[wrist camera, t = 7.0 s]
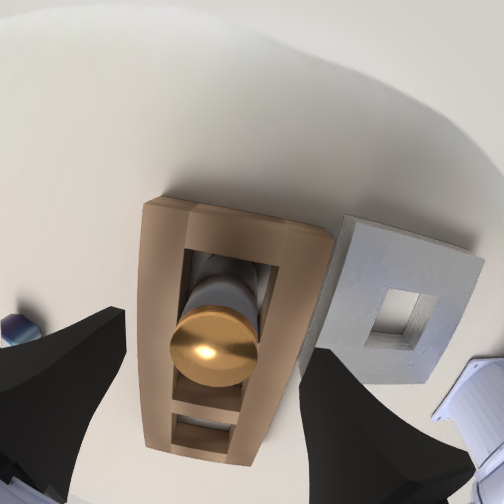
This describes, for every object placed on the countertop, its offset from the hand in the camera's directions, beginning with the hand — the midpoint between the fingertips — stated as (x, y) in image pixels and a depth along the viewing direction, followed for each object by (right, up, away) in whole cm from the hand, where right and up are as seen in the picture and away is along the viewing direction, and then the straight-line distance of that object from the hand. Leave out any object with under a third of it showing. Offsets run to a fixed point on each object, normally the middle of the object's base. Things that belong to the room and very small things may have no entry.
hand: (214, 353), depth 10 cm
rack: (-1, -3, +8) cm, 9 cm away
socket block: (+10, 0, +7) cm, 12 cm away
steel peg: (0, +2, +6) cm, 7 cm away
